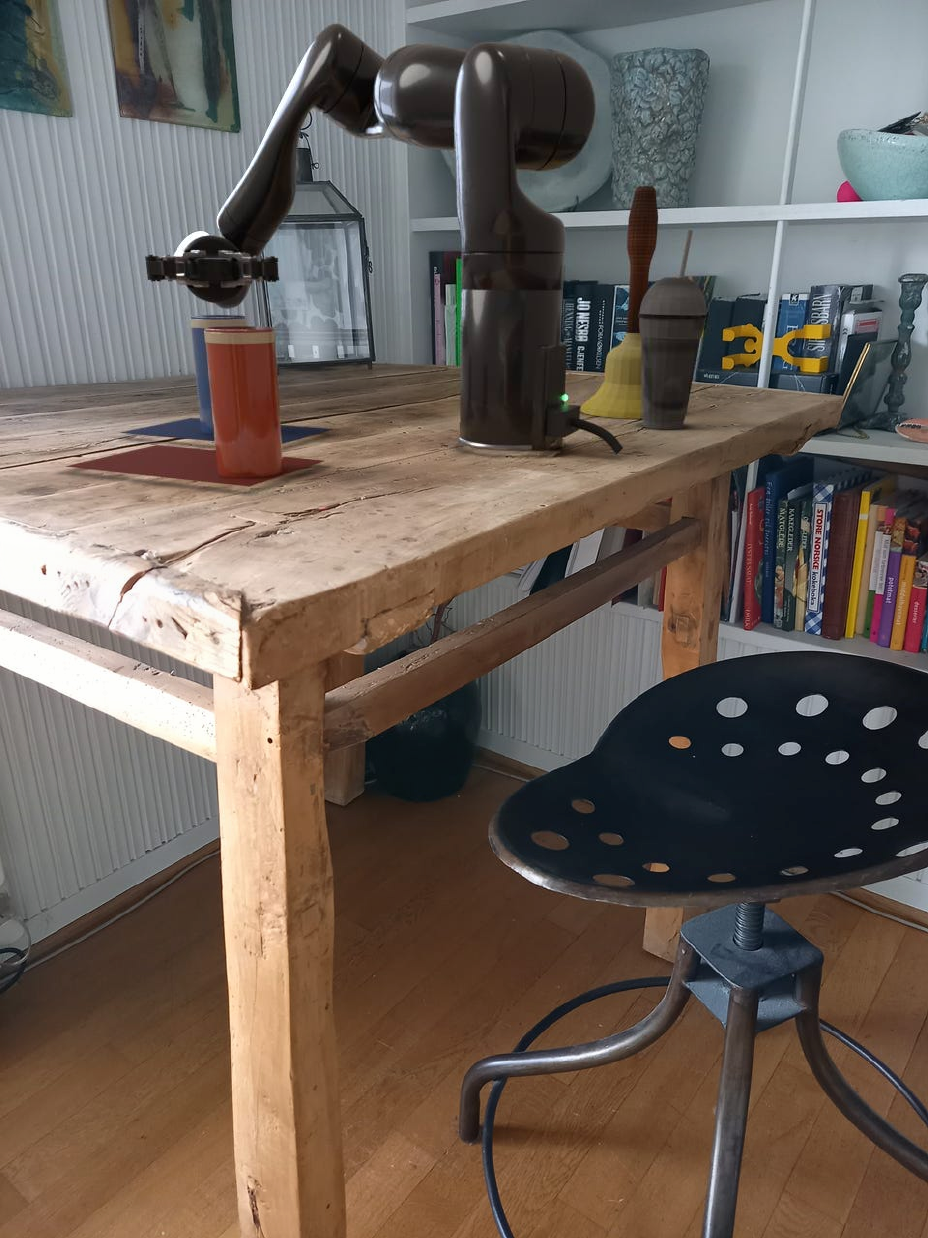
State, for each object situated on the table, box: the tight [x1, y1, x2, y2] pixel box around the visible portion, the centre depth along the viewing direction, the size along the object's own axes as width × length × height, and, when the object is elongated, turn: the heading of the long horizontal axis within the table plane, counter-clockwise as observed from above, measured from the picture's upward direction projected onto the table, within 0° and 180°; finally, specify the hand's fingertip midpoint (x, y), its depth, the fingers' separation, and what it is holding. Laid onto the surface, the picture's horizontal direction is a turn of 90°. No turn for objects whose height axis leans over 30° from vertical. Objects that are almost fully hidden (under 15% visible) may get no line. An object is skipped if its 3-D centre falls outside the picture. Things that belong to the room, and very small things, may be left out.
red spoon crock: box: [204, 325, 284, 478], centre depth 71 cm, size 5×5×11 cm
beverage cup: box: [638, 229, 708, 430], centre depth 96 cm, size 7×7×20 cm
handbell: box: [580, 185, 659, 420], centre depth 106 cm, size 12×12×25 cm
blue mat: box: [119, 417, 334, 445], centre depth 91 cm, size 18×11×1 cm, turn 67°
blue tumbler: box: [189, 314, 247, 434], centre depth 89 cm, size 5×5×11 cm
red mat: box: [65, 444, 325, 487], centre depth 76 cm, size 18×11×1 cm, turn 67°
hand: (213, 267), depth 96 cm, fingers open, 8 cm apart
